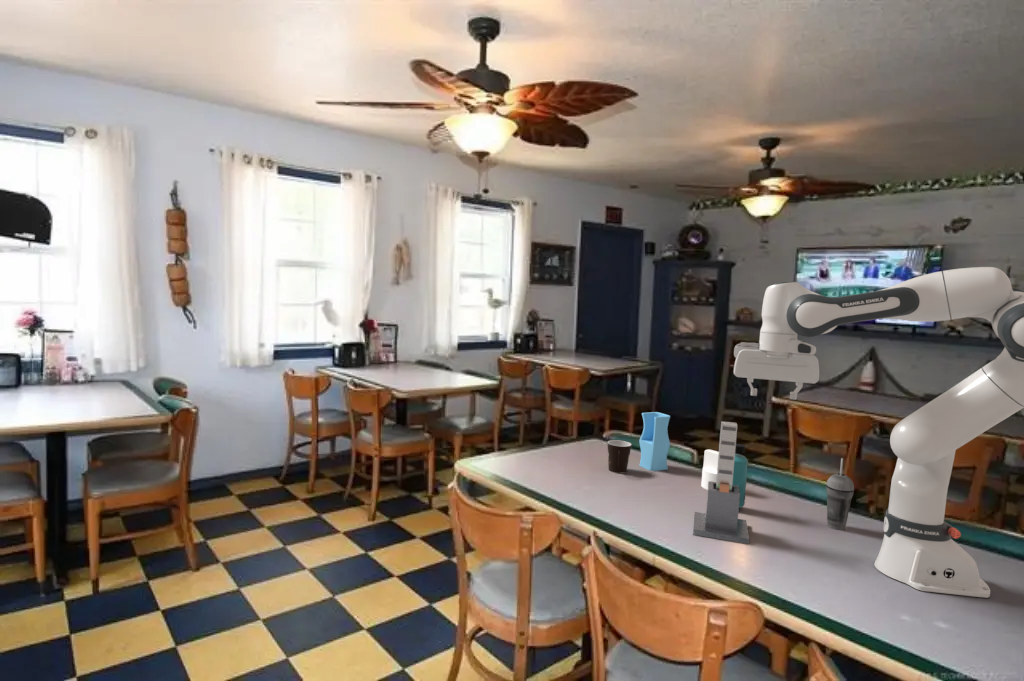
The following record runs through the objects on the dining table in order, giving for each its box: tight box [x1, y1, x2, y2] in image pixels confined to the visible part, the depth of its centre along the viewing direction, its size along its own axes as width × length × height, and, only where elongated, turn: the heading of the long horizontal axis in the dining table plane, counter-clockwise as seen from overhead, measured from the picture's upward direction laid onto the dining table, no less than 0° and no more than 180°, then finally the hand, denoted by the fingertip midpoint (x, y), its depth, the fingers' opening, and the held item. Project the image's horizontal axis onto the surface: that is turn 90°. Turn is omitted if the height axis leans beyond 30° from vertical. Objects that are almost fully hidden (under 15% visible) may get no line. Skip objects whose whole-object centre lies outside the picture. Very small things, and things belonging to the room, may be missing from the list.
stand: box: [692, 481, 750, 545], centre depth 163 cm, size 14×14×14 cm
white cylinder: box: [700, 448, 719, 491], centre depth 201 cm, size 9×9×12 cm
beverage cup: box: [825, 457, 855, 531], centre depth 170 cm, size 7×7×20 cm
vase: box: [638, 411, 671, 472], centre depth 220 cm, size 8×8×20 cm
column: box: [716, 420, 738, 492], centre depth 162 cm, size 4×4×22 cm
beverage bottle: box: [732, 443, 749, 508], centre depth 181 cm, size 6×7×20 cm
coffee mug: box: [606, 439, 632, 474], centre depth 213 cm, size 12×9×10 cm
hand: (773, 397), depth 154 cm, fingers open, 8 cm apart
